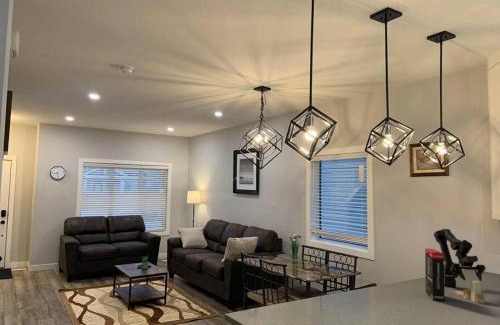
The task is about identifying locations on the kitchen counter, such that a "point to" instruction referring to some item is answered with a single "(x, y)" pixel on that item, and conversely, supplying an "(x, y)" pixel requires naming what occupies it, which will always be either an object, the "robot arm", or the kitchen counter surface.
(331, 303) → the kitchen counter surface
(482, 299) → the rack
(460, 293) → the tile
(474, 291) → the pale green block
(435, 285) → the graphics card box
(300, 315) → the kitchen counter surface
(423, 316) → the kitchen counter surface
